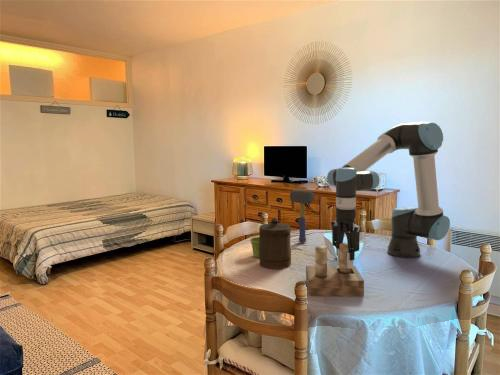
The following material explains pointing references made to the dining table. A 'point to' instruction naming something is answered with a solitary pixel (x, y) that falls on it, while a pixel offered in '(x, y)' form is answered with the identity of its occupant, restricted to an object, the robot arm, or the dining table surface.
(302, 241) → the rubber mallet
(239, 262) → the dining table surface
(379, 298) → the dining table surface
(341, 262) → the beech peg
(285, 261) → the wooden container
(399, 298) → the dining table surface
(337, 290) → the board
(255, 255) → the plant pot
